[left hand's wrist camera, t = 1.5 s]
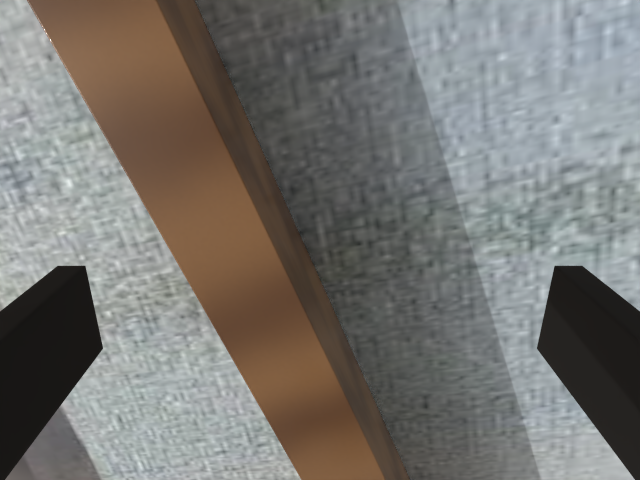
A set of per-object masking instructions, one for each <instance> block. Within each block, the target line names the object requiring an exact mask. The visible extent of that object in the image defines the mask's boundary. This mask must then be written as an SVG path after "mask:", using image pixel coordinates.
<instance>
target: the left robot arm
mask: <svg viewBox="0 0 640 480" xmlns="http://www.w3.org/2000/svg"><path fill="white" fill-rule="evenodd" d="M102 349H103V346H102V342H101V337H100V332H99V328H98V323H97V318H96V314H95V309H94V304H93V300H92V295H91V290H90V286H89V281H88V276H87V272H86V267H85V266H57V267H56V268H55V269H53V270H52V271H51V272H50V273H48V274H47V275H46V276H44V277H43V278H42V279H41V280H39V281H38V282H37V283H36V284H34V285H33V286H32V287H31V288H29V289H28V290H27V291H26V292H24V293H23V294H22V295H20V296H19V297H18V298H17V299H15V300H14V301H13V302H12V303H10V304H9V305H8V306H7V307H5V308H4V309H3V310H2V311H0V480H5V479H6V478H7V476H8V475H9V473H10V472H11V471H12V469H13V468H14V467H15V465H16V464H17V463H18V461H19V460H20V459H21V457H22V456H23V455H24V453H25V452H26V451H27V449H28V448H29V447H30V445H31V444H32V443H33V441H34V440H35V439H36V437H37V436H38V435H39V433H40V432H41V431H42V429H43V428H44V427H45V425H46V424H47V423H48V421H49V420H50V419H51V417H52V416H53V415H54V413H55V412H56V411H57V409H58V408H59V407H60V405H61V404H62V403H63V401H64V400H65V399H66V397H67V396H68V395H69V393H70V392H71V391H72V389H73V388H74V387H75V385H76V384H77V383H78V381H79V380H80V379H81V377H82V376H83V375H84V373H85V372H86V371H87V369H88V368H89V367H90V365H91V364H92V363H93V361H94V360H95V359H96V357H97V356H98V355H99V353H100V352H101V351H102ZM537 349H538V351H539V352H540V353H541V355H542V356H543V357H544V359H545V360H546V361H547V363H548V364H549V365H550V367H551V368H552V369H553V371H554V372H555V373H556V375H557V376H558V377H559V379H560V380H561V381H562V383H563V384H564V385H565V387H566V388H567V389H568V391H569V392H570V393H571V395H572V396H573V397H574V399H575V400H576V401H577V403H578V404H579V405H580V407H581V408H582V409H583V411H584V412H585V413H586V415H587V416H588V417H589V419H590V420H591V421H592V423H593V424H594V425H595V427H596V428H597V429H598V431H599V432H600V433H601V435H602V436H603V437H604V439H605V440H606V441H607V443H608V444H609V445H610V447H611V448H612V449H613V451H614V452H615V453H616V455H617V456H618V457H619V459H620V460H621V461H622V463H623V464H624V465H625V467H626V468H627V469H628V471H629V472H630V473H631V475H632V476H633V478H634V479H635V480H640V311H638V310H637V309H636V308H635V307H633V306H632V305H631V304H630V303H628V302H627V301H626V300H625V299H623V298H622V297H621V296H620V295H618V294H617V293H616V292H614V291H613V290H612V289H611V288H609V287H608V286H607V285H606V284H604V283H603V282H602V281H601V280H599V279H598V278H597V277H596V276H594V275H593V274H592V273H590V272H589V271H588V270H587V269H585V268H584V267H583V266H555V267H554V272H553V276H552V281H551V286H550V290H549V295H548V300H547V304H546V309H545V314H544V318H543V323H542V328H541V332H540V337H539V342H538V346H537Z"/></svg>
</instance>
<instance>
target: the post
mask: <svg viewBox="0 0 640 480" xmlns="http://www.w3.org/2000/svg"><path fill="white" fill-rule="evenodd" d="M27 1H28V3H29V5H30V6H31V8H32V10H33V12H34V13H35V15H36V17H37V19H38V20H39V22H40V24H41V26H42V27H43V29H44V31H45V33H46V34H47V36H48V38H49V40H50V41H51V43H52V45H53V47H54V48H55V50H56V52H57V54H58V55H59V57H60V59H61V60H62V62H63V64H64V66H65V67H66V69H67V71H68V73H69V74H70V76H71V78H72V80H73V81H74V83H75V85H76V87H77V88H78V90H79V92H80V94H81V95H82V97H83V99H84V101H85V102H86V104H87V106H88V108H89V109H90V111H91V113H92V115H93V116H94V118H95V120H96V122H97V123H98V125H99V127H100V129H101V130H102V132H103V134H104V136H105V137H106V139H107V141H108V143H109V144H110V146H111V148H112V150H113V151H114V153H115V155H116V157H117V158H118V160H119V162H120V164H121V165H122V167H123V169H124V171H125V172H126V174H127V176H128V177H129V179H130V181H131V183H132V184H133V186H134V188H135V190H136V191H137V193H138V195H139V197H140V198H141V200H142V202H143V204H144V205H145V207H146V209H147V211H148V212H149V214H150V216H151V218H152V219H153V221H154V223H155V225H156V226H157V228H158V230H159V232H160V233H161V235H162V237H163V239H164V240H165V242H166V244H167V246H168V247H169V249H170V251H171V253H172V254H173V256H174V258H175V260H176V261H177V263H178V265H179V267H180V268H181V270H182V272H183V274H184V275H185V277H186V279H187V281H188V282H189V284H190V286H191V288H192V289H193V291H194V293H195V295H196V296H197V298H198V300H199V301H200V303H201V305H202V307H203V308H204V310H205V312H206V314H207V315H208V317H209V319H210V321H211V322H212V324H213V326H214V328H215V329H216V331H217V333H218V335H219V336H220V338H221V340H222V342H223V343H224V345H225V347H226V349H227V350H228V352H229V354H230V356H231V357H232V359H233V361H234V363H235V364H236V366H237V368H238V370H239V371H240V373H241V375H242V377H243V378H244V380H245V382H246V384H247V385H248V387H249V389H250V391H251V392H252V394H253V396H254V398H255V399H256V401H257V403H258V405H259V406H260V408H261V410H262V412H263V413H264V415H265V417H266V419H267V420H268V422H269V424H270V425H271V427H272V429H273V431H274V432H275V434H276V436H277V438H278V439H279V441H280V443H281V445H282V446H283V448H284V450H285V452H286V453H287V455H288V457H289V459H290V460H291V462H292V464H293V466H294V467H295V469H296V471H297V473H298V474H299V476H300V478H301V480H410V479H409V476H408V474H407V472H406V470H405V467H404V465H403V463H402V461H401V459H400V456H399V454H398V452H397V450H396V447H395V445H394V443H393V441H392V438H391V436H390V434H389V432H388V430H387V427H386V425H385V423H384V421H383V418H382V416H381V414H380V412H379V410H378V407H377V405H376V403H375V401H374V398H373V396H372V394H371V392H370V390H369V387H368V385H367V383H366V381H365V378H364V376H363V374H362V372H361V370H360V367H359V365H358V363H357V361H356V358H355V356H354V354H353V352H352V350H351V347H350V345H349V343H348V341H347V338H346V336H345V334H344V332H343V330H342V327H341V325H340V323H339V321H338V318H337V316H336V314H335V312H334V310H333V307H332V305H331V303H330V301H329V298H328V296H327V294H326V292H325V290H324V287H323V285H322V283H321V281H320V278H319V276H318V274H317V272H316V269H315V267H314V265H313V263H312V261H311V258H310V256H309V254H308V252H307V249H306V247H305V245H304V243H303V241H302V238H301V236H300V234H299V232H298V229H297V227H296V225H295V223H294V221H293V218H292V216H291V214H290V212H289V209H288V207H287V205H286V203H285V201H284V198H283V196H282V194H281V192H280V189H279V187H278V185H277V183H276V181H275V178H274V176H273V174H272V172H271V169H270V167H269V165H268V163H267V161H266V158H265V156H264V154H263V152H262V149H261V147H260V145H259V143H258V141H257V138H256V136H255V134H254V132H253V129H252V127H251V125H250V123H249V121H248V118H247V116H246V114H245V112H244V109H243V107H242V105H241V103H240V100H239V98H238V96H237V94H236V92H235V89H234V87H233V85H232V83H231V80H230V78H229V76H228V74H227V72H226V69H225V67H224V65H223V63H222V60H221V58H220V56H219V54H218V52H217V49H216V47H215V45H214V43H213V40H212V38H211V36H210V34H209V32H208V29H207V27H206V25H205V23H204V20H203V18H202V16H201V14H200V12H199V9H198V7H197V5H196V3H195V0H27Z"/></svg>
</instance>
